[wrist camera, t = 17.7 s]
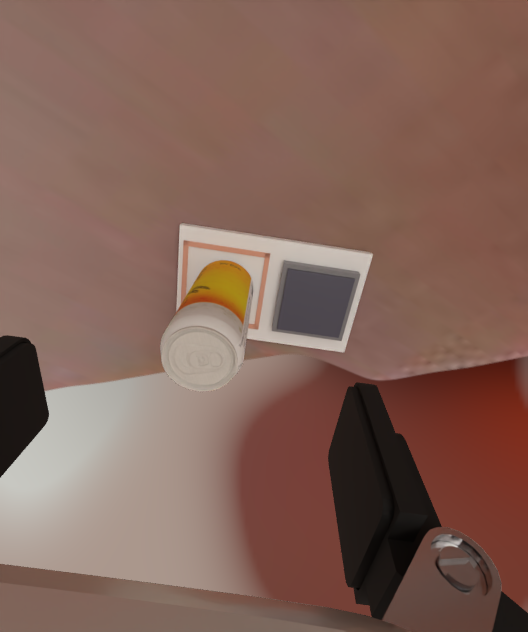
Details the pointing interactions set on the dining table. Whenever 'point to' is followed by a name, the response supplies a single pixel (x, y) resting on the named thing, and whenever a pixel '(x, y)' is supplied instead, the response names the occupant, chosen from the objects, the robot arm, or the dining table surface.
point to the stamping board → (283, 283)
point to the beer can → (209, 329)
